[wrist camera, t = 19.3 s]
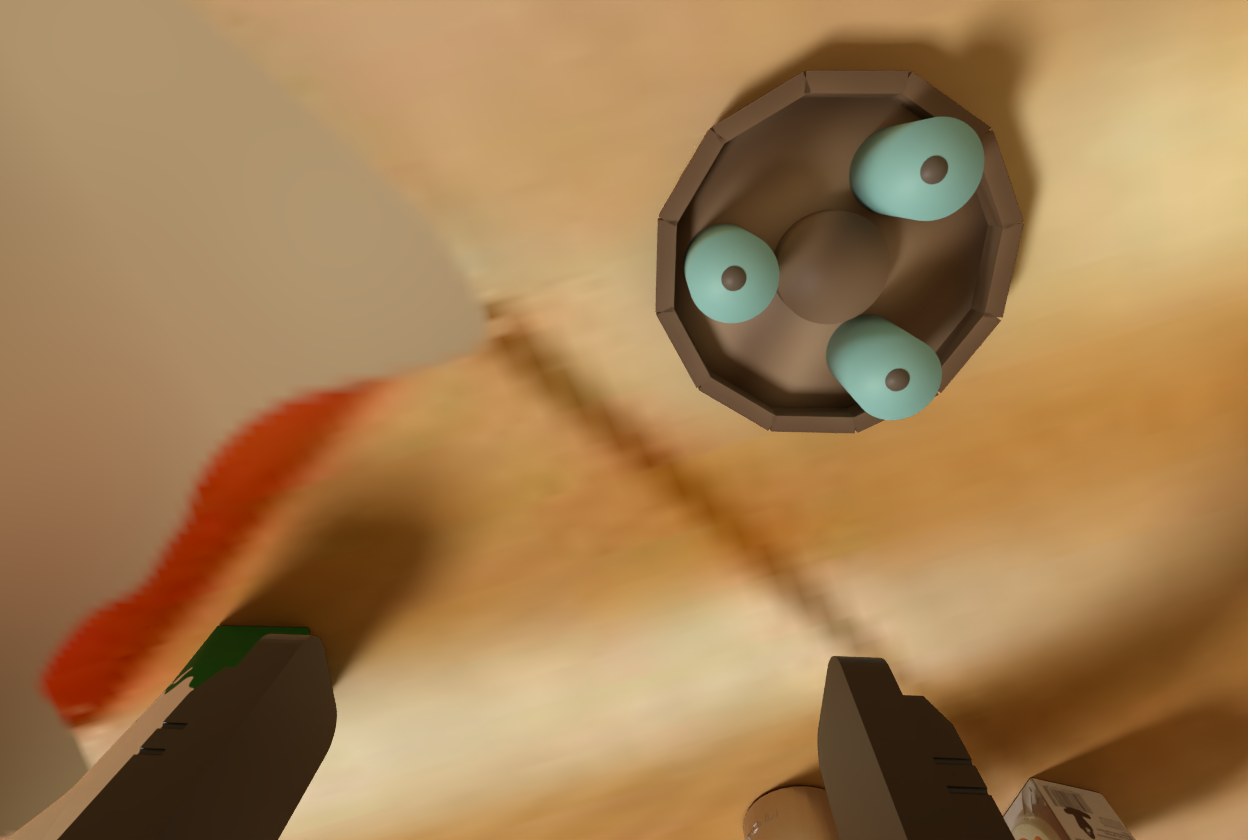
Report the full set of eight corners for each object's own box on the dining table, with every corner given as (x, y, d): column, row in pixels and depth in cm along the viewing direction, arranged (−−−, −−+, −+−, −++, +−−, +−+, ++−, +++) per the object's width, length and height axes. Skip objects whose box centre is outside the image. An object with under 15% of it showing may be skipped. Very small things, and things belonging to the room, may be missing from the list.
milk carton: (338, 706, 51) (155, 1016, 32) (229, 703, 51) (-16, 1008, 32) (318, 616, 47) (102, 902, 29) (201, 614, 48) (-87, 894, 29)
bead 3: (907, 314, 36) (949, 338, 31) (896, 387, 38) (934, 420, 33) (830, 314, 37) (859, 337, 31) (822, 386, 38) (848, 420, 33)
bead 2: (951, 155, 33) (1006, 151, 28) (897, 229, 35) (939, 239, 30) (884, 108, 33) (928, 95, 28) (832, 186, 34) (864, 188, 29)
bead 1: (776, 249, 35) (797, 262, 30) (732, 316, 37) (745, 339, 32) (711, 207, 35) (721, 213, 30) (668, 277, 36) (671, 294, 31)
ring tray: (1066, 201, 35) (1097, 203, 32) (851, 467, 41) (863, 486, 39) (782, 0, 32) (792, -14, 30) (597, 319, 38) (594, 328, 36)
